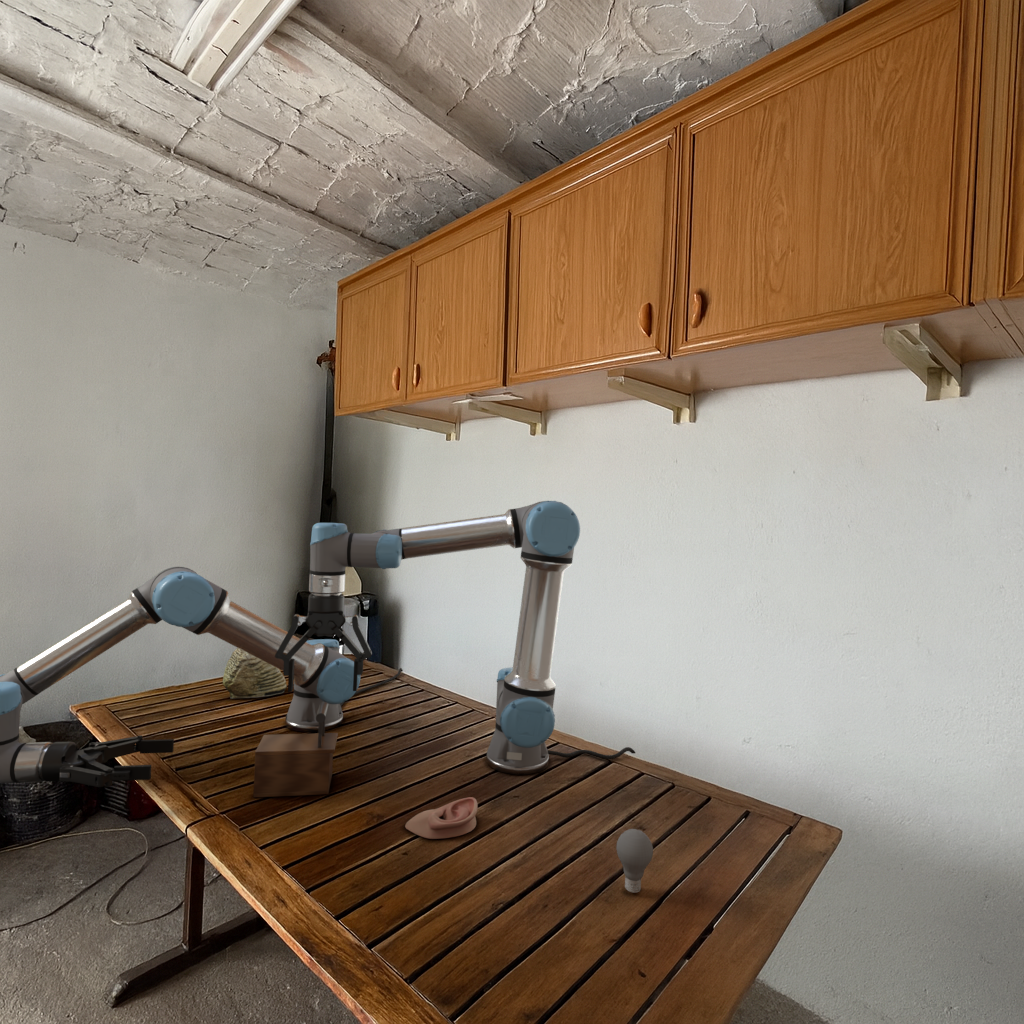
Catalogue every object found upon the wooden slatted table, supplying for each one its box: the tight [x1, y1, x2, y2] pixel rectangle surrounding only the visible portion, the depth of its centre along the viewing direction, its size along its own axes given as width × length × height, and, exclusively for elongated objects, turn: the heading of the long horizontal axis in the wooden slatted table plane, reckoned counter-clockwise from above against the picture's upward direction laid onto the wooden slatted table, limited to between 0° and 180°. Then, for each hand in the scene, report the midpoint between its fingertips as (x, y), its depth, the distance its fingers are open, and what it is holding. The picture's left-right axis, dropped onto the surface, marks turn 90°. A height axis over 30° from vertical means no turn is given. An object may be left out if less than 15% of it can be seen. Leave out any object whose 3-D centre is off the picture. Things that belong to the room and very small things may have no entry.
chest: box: [253, 753, 334, 798], centre depth 138 cm, size 15×10×9 cm, turn 101°
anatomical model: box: [404, 796, 479, 840], centre depth 124 cm, size 13×4×12 cm
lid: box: [254, 702, 339, 757], centre depth 138 cm, size 16×10×8 cm, turn 101°
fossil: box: [222, 647, 288, 699], centre depth 198 cm, size 9×18×15 cm, turn 132°
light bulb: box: [615, 828, 654, 894], centre depth 106 cm, size 6×6×10 cm
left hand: (162, 758), depth 133 cm, fingers open, 13 cm apart
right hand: (323, 689), depth 139 cm, fingers open, 13 cm apart
